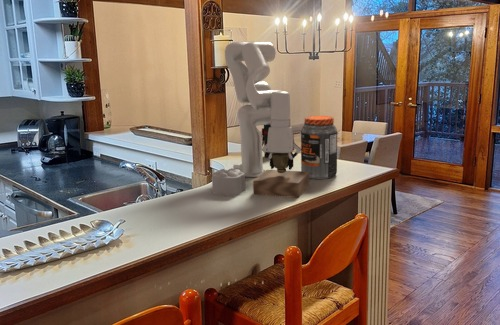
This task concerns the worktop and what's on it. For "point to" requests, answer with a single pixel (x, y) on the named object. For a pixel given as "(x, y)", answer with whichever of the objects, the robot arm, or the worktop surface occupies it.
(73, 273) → the worktop surface
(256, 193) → the walnut block
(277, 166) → the cup
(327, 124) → the supplement tub
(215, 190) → the grey studded block
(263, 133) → the wine bottle
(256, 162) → the robot arm
